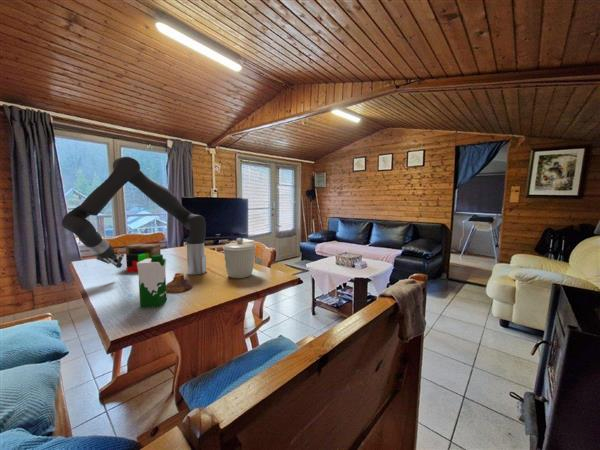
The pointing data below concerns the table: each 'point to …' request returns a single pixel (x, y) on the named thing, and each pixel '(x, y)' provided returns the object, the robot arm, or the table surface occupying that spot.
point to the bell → (178, 284)
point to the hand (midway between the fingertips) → (119, 266)
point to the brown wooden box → (143, 248)
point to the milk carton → (152, 281)
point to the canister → (239, 258)
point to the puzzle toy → (136, 259)
